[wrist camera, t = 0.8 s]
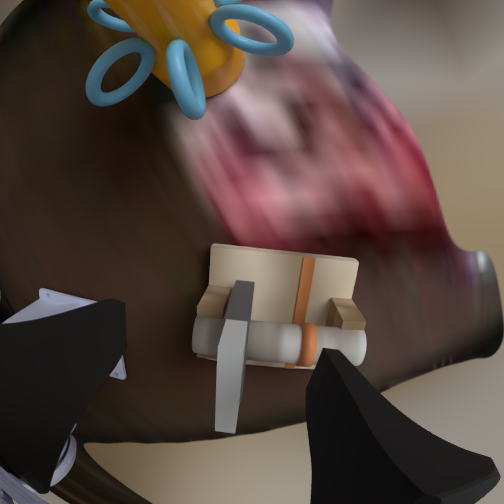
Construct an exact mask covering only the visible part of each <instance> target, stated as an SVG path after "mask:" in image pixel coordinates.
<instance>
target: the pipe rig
mask: <svg viewBox="0 0 504 504" xmlns="http://www.w3.org/2000/svg"><path fill="white" fill-rule="evenodd" d="M358 264H359V262H358V261H357V260H356V259H355V258H346V257H337V256H328V255H318V254H309V253H300V252H290V251H281V250H272V249H262V248H253V247H243V246H233V245H224V244H213V245H212V246H211V255H210V273H209V286H208V288H207V289H206V291H205V293H204V295H203V297H202V298H201V300H200V302H199V304H198V306H197V317H196V319H195V323H194V328H193V335H192V350H193V352H194V353H197V357H201V358H207V359H211V360H217V356H218V345H219V342H220V338H221V335H222V331H223V327H224V317H225V314H226V311H227V308H228V304H229V301H230V298H231V295H232V292H233V288H234V285H235V282H236V280H242V281H251V282H255V285H254V294H253V304H252V313H251V320H250V327H249V336H248V345H247V354H246V364H251V365H261V366H272V367H284V368H289V369H295V368H302V369H315V366H316V364H317V361H318V359H319V356H320V354H321V351H322V348H330V349H337V350H340V351H341V352H342V353H343V354H344V355H345V356H346V357H347V358H348V359H349V361H350V362H351V363H352V364H353V365H354V366H358V365H360V364H361V363H362V361H363V359H364V356H365V353H366V335H365V332H364V328H365V325H366V320H365V319H364V317H363V316H362V314H361V313H360V311H359V310H358V308H357V307H356V305H355V304H354V302H353V301H352V299H351V298H352V293H353V289H354V284H355V279H356V274H357V269H358Z"/></svg>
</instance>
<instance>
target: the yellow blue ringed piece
mask: <svg viewBox="0 0 504 504" xmlns="http://www.w3.org/2000/svg"><path fill="white" fill-rule="evenodd" d="M241 1H242V0H93V1H92V2H91V3H90V4H89V6H88V9H87V11H88V14H89V16H90V17H91V18H92V19H93V20H94V21H96V22H97V23H99V24H101V25H103V26H105V27H108V28H111V29H114V30H118V31H123V32H136V33H137V34H138V35H139V36H140V38H132V39H127V40H124V41H122V42H119V43H117V44H115V45H114V46H112V47H111V48H109V49H108V50H107V51H106V52H104V53H103V54H102V55H101V56H100V57H99V59H98V60H97V61H96V62H95V64H94V65H93V67H92V68H91V70H90V72H89V75H88V77H87V81H86V94H87V97H88V99H89V100H90V101H91V102H92V103H93V104H95V105H98V106H110V105H113V104H116V103H118V102H120V101H122V100H124V99H126V98H127V97H128V96H130V95H131V94H132V93H134V92H135V91H136V90H137V89H138V88H139V87H140V86H141V85H142V84H143V83H144V81H145V80H146V79H147V77H148V76H149V74H150V72H152V73H153V74H154V75H155V76H156V77H157V78H158V79H159V80H161V81H162V82H163V83H164V84H165V85H166V86H167V87H168V88H170V89H171V90H172V91H173V93H174V96H175V98H176V100H177V103H178V105H179V107H180V108H181V110H182V111H183V113H184V114H185V115H186V116H187V117H188V118H190V119H192V120H197V119H200V118H201V117H202V116H203V115H204V113H205V109H206V101H205V98H206V97H211V96H214V95H216V94H219V93H221V92H222V91H224V90H226V89H227V88H229V87H230V86H231V85H232V84H233V83H234V82H235V81H236V80H237V79H238V77H239V76H240V74H241V72H242V70H243V67H244V63H245V54H244V51H246V52H249V53H252V54H256V55H262V56H280V55H283V54H286V53H287V52H289V51H290V50H291V49H292V47H293V45H294V37H293V34H292V32H291V30H290V29H289V27H288V26H287V25H286V24H285V23H284V22H283V21H282V20H280V19H279V18H278V17H276V16H275V15H273V14H271V13H269V12H267V11H265V10H262V9H260V8H257V7H253V6H249V5H242V4H237V3H239V2H241ZM101 8H112V9H113V10H114V11H115V12H116V13H117V14H118V15H119V16H120V17H121V18H122V19H123V20H120V19H117V18H114V17H112V16H109V15H108V14H106V13H104V12H103V11H102V10H101ZM236 19H241V20H246V21H250V22H253V23H255V24H258V25H260V26H262V27H264V28H265V29H267V30H268V31H270V32H271V33H272V34H273V35H274V36H275V37H276V39H277V42H275V43H262V42H257V41H253V40H250V39H247V38H245V37H243V36H241V33H240V29H239V26H238V23H237V21H236ZM132 52H138V53H140V54H141V57H142V60H141V64H140V66H139V68H138V70H137V72H136V73H135V74H134V76H133V77H132V78H131V79H130V80H129V81H128V82H127V83H126V84H124V85H123V86H122V87H120V88H119V89H117V90H115V91H112V92H108V93H105V92H102V91H101V81H102V78H103V76H104V74H105V73H106V71H107V70H108V68H109V67H110V66H111V65H112V64H113V63H114V62H115V61H116V60H118V59H119V58H121V57H122V56H124V55H126V54H128V53H132Z"/></svg>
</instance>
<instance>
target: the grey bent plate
mask: <svg viewBox="0 0 504 504" xmlns="http://www.w3.org/2000/svg"><path fill="white" fill-rule="evenodd" d="M254 285H255V282H251V281H242V280H236V282H235V285H234V288H233V292H232V295H231V298H230V301H229V304H228V308H227V311H226V314H225V317H224V327H223V331H222V335H221V338H220V342H219V345H218V356H217V382H216V415H215V431H221V432H228V433H235V430H236V423H237V415H238V408H239V402H240V403H241V399H242V391H243V383H244V375H245V366H246V354H247V345H248V336H249V327H250V320H251V313H252V304H253V294H254Z"/></svg>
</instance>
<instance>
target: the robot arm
mask: <svg viewBox="0 0 504 504" xmlns="http://www.w3.org/2000/svg"><path fill="white" fill-rule="evenodd" d="M39 296H40V299H39V300H37V301H35V302H34V303H32V304H31V305H29V306H27V307H26V308H24V309H23V310H21V311H20V312H18V313H17V314H15V315H13V316H12V317H10V318H9V319H7V320H6V321H5V322H3V323H2V324H0V504H14V502H13V500H12V498H13V499H14V500H15V501H16V502H17V503H19V504H48V503H47V502H45V501H44V500H42V499H41V498H39V497H38V496H37V495H35V494H34V493H36V492H38V493H40V494H46V493H48V492H49V488H50V486H52V485H54V484H56V483H58V482H59V481H60V480H61V479H62V478H64V476H65V475H66V474H67V473H68V472H69V470H70V469H71V467H72V465H73V463H74V460H75V457H76V440H75V438H74V437H73V436H72V435H71V433H72V431H73V430H74V428H75V427H76V422H77V420H78V418H79V416H80V415H81V413H82V411H83V410H84V408H85V407H86V405H87V404H88V403H89V401H90V400H91V399H92V397H93V396H94V395H95V393H96V392H97V391H98V390H99V388H100V387H101V386H102V384H103V383H104V382H105V381H106V379H107V378H108V377H109V376H112V377H115V378H118V379H122V380H124V379H125V378H126V370H125V365H124V359H123V353H124V351H125V350H126V348H127V343H126V318H125V303H124V302H121V301H118V300H114V299H107V300H103V301H99V302H97V301H92V300H88V299H84V298H79V297H75V296H71V295H67V294H63V293H60V292H56V291H52V290H48V289H45V288H41V289H40V290H39ZM306 421H307V429H308V438H309V446H310V454H311V466H312V484H311V503H310V504H475V503H476V502H477V501H479V500H480V499H481V498H482V497H484V496H485V495H486V494H487V493H488V492H490V491H491V490H492V489H493V488H494V487H495V486H496V485H497V483H498V482H499V480H500V474H499V472H498V470H497V468H496V466H495V464H494V462H493V460H492V459H491V458H490V457H487V456H484V455H481V454H477V453H474V452H471V451H468V450H465V449H463V448H460V447H458V446H456V445H454V444H451V443H449V442H447V441H445V440H443V439H441V438H439V437H438V436H436V435H434V434H432V433H431V432H429V431H427V430H426V429H424V428H423V427H421V426H419V425H418V424H417V423H415V422H414V421H412V420H411V419H410V418H408V417H407V416H406V415H404V414H403V413H402V412H401V411H399V410H398V409H397V408H396V407H395V406H393V405H392V404H391V403H390V402H389V401H388V400H387V399H386V398H385V397H384V396H382V395H381V394H380V393H379V392H378V391H377V390H376V389H375V388H374V387H373V386H372V385H371V384H370V382H369V381H368V380H367V379H366V378H365V377H364V376H363V375H362V374H361V373H360V372H359V371H358V369H357V368H356V367H355V366H354V365H353V364H352V363H351V362H350V361H349V359H348V358H347V357H346V356H345V355H344V354H343V353H342V352H341V351H340V350H337V349H330V348H322V351H321V354H320V356H319V359H318V361H317V364H316V366H315V369H314V371H313V374H312V376H311V379H310V381H309V383H308V386H307V388H306Z"/></svg>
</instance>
